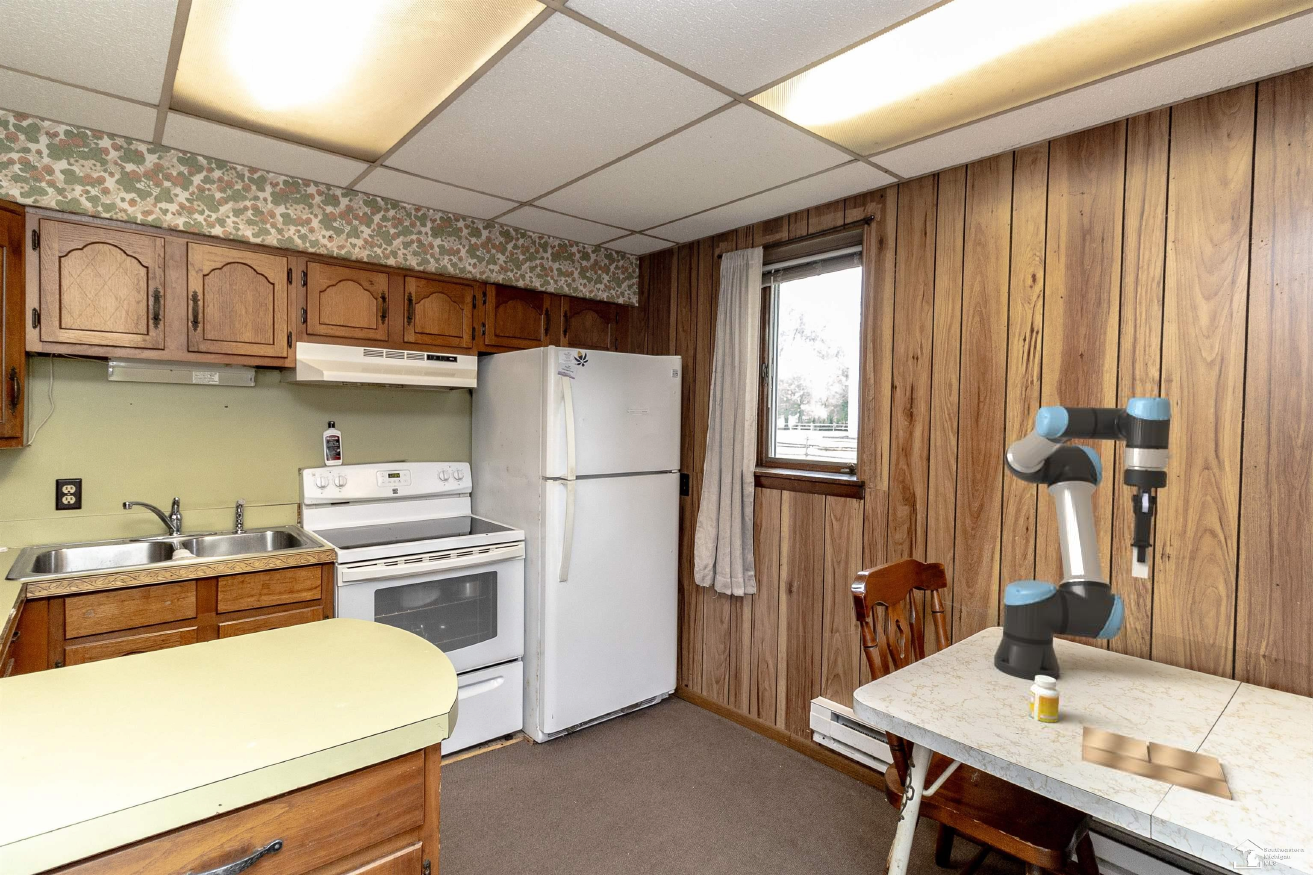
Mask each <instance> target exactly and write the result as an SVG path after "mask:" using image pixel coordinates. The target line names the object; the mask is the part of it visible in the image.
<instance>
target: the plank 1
mask: <svg viewBox="0 0 1313 875" xmlns="http://www.w3.org/2000/svg"><path fill="white" fill-rule="evenodd" d="M1081 740H1082V741H1081V742H1082V743H1081V744H1082V745H1081V747H1082V746H1085V747H1089V748H1093V749H1097V750H1101V751H1105V752H1109V753H1112V754H1116V755H1120V756H1124V757H1128V758H1132V759H1136V760H1140V761H1144V762H1147V763H1150V762H1149V754H1148V747H1147V746H1148V745H1147V741H1146V740H1142V739H1139V738H1135V737H1131V736H1126V735H1121V734H1118V733H1114V732H1111V731H1107V730H1102V729H1097V728H1093V727H1089V726H1085V725H1083V726H1082V739H1081Z"/></svg>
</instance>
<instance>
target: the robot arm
mask: <svg viewBox="0 0 1313 875" xmlns="http://www.w3.org/2000/svg"><path fill="white" fill-rule="evenodd" d="M1127 402H1128V403H1127V407H1087V406H1086V407H1085V406H1084V407H1082V406H1066V405H1065V406H1061V405H1052V406H1043V407H1040V408H1039V409H1038V411H1037V414H1036V417H1035V422H1034V423H1035V428H1033V430H1031V431H1030V433H1028V434H1027V435H1026V436H1025V437H1024V438H1023V439H1020V440H1016V441H1015V442H1013V443H1012V444H1010V445H1009V447H1008V448H1007V449H1006V450H1005V453H1004V464H1005V468H1006V469H1007V470H1008V471H1009V473H1010V474H1011V475H1012V476H1013V477H1015V478H1016V479H1018V480H1020V481H1023V482H1025V483H1029V484H1034V485H1045V486H1046V487H1047V493H1048V494H1049V495H1050V496H1052V497H1053V498H1054V502H1055V503H1054V504H1055V512H1056V519H1057V528H1058V537H1059V544H1060V545H1059V546H1060V554H1061V555H1060V556H1061V561H1062V570H1063V580H1061V581H1060V582H1059V583H1058V589H1057V586H1056V585H1055V584H1054V583H1052V582H1048V581H1041V580H1019V581H1014V582H1011V583H1008V585H1007V586H1006V587H1005V591H1004V599H1003V603H1004V605H1003V619H1002V620H1003V622H1002V638H1001V639H1000V642H999V645H998V646H997V648H996V652H995V654H994V657H993V665H994V667H995V668H996V669H997V670H999V671H1001V672H1002V673H1005V674H1009V675H1011V676H1014V677H1016V678H1017V677H1018V678H1021V679H1027V680H1031V681H1032V680H1033V681H1035V676H1037V675H1044V676H1049V677H1052V678H1054V679H1055V680H1056V681H1057V680H1058V679H1059V678H1060V671H1061V670H1060V665H1059V663H1058V662H1059V661H1058V658H1057V655H1056V652H1055V648H1054V636H1055V635H1059V636H1067V637H1068V636H1069V637H1078V638H1087V639H1088V638H1089V639H1093V640H1097V639H1100V640H1111V639H1114V638H1116V637H1117V636H1118V635H1119V633H1120V631H1121V629H1122V626H1123V623H1124V618H1125V606H1124V605H1125V604H1124V601H1123V599H1122V597H1121V596H1120V595H1119V594H1117V593H1115V592H1113V593H1112V588H1111V587H1112V586H1111V585H1110V583H1108V582H1107V581H1106V580H1104V579H1103V571H1102V566H1101V560H1100V552H1099V544H1098V539H1097V538H1098V536H1097V531H1096V524H1095V519H1094V518H1095V517H1094V516H1095V515H1094V510H1093V505H1092V504H1093V503H1092V495H1093V494H1094V492H1096V491H1097V487H1099V485H1101V483H1102V480H1103V464H1102V460H1101V458H1100V454H1098V452H1097V451H1096V450H1095V449H1094V448H1092V446H1087V445H1078V444H1072V445H1071V444H1067V443H1069V442H1070V441H1072V440H1099V441H1116V442H1125V448H1124V458H1123V459H1124V460H1123V461H1124V462H1123V463H1124V464H1123V465H1124V466H1125V467H1127V468H1125V469H1124V470H1123V471H1124V472H1123V485H1124V486H1128V487H1136V488H1137V491H1136V494H1135V493H1134V494H1132V495H1131V496H1132V497H1131V499H1132V502H1133V504H1132V505H1133V506H1132V513H1133V515H1134V525H1133V526H1134V527H1133V530H1134V531H1133V537H1132V540H1133V542H1132V543H1130V547H1132V563H1131V564H1132V565H1131V568H1132V569H1131V577H1135V578H1142V579H1148V576H1149V559H1150V558H1149V556H1150V548H1153V544H1152V543H1151V531H1152V530H1151V529H1152V518H1153V517H1154V514H1155V512H1154V511H1155V505H1156V501H1157V496H1155V495H1153V494H1152V491H1153V490H1152V489H1165V488H1166V487H1167V484H1168V481H1167V480H1168V472H1167V471H1166V470H1164V469H1167V468H1168V463H1169V462H1168V460H1171V459H1172V454H1168V453H1169V443H1170V429H1171V428H1170V427H1171V418H1172V413H1171V401H1170V399H1168V398H1166V397H1149V396H1146V397H1143V396H1141V397H1132V398H1130V399H1129V400H1128V401H1127Z"/></svg>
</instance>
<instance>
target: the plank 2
mask: <svg viewBox="0 0 1313 875" xmlns="http://www.w3.org/2000/svg"><path fill="white" fill-rule="evenodd" d="M1148 752H1149V756H1150V758H1149V759H1150V763H1151V764H1155V765H1159V766H1163V767H1167V768H1171V769H1175V770H1179V771H1183V772H1186V773H1190V774H1194V775H1198V776H1202V777H1206V778H1210V779H1214V780H1218V781H1221V782H1225V783H1226V778H1225V775H1224V773H1223V770H1222V766H1221V763H1220V760H1219V758H1218V757H1215V756H1210V755H1207V754H1202V753H1199V752H1194V751H1190V750H1186V749H1182V748H1177V747H1174V746H1168V745H1165V744H1162V743H1161V744H1160V743H1156V742H1153V741H1148Z"/></svg>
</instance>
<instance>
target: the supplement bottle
mask: <svg viewBox="0 0 1313 875" xmlns="http://www.w3.org/2000/svg"><path fill="white" fill-rule="evenodd" d="M1056 687H1057V679H1056V680H1055V679H1054V678H1052V677H1049V676H1044V675H1037V676H1035V680H1034V684H1032V685H1031V687H1030V694H1029V695H1030V696H1029V708H1028V710H1029V711H1028V715H1029V717H1030V718H1031V719H1033V720H1034V721H1037V722H1041V723H1046V724H1056V723H1058V720H1059V705H1060V704H1059V703H1060V693H1059V691H1058V690H1057V689H1056Z"/></svg>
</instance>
